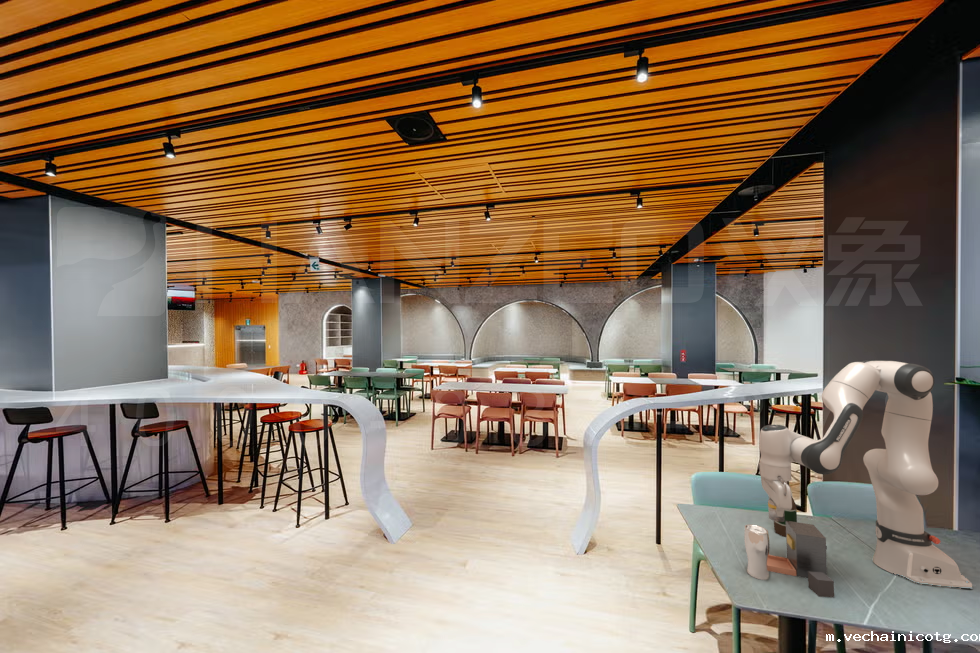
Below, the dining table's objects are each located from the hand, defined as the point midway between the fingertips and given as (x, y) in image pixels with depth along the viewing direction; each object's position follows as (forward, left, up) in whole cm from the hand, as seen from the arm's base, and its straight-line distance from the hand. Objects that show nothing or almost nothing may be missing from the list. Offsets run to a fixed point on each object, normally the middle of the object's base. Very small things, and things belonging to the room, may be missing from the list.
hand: (776, 512), depth 133 cm
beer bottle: (-10, -29, -19) cm, 36 cm away
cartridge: (0, 0, -2) cm, 2 cm away
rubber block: (-8, +11, -19) cm, 23 cm away
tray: (0, 0, -19) cm, 19 cm away
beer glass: (+8, +8, -19) cm, 22 cm away
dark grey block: (-8, -1, -19) cm, 20 cm away
